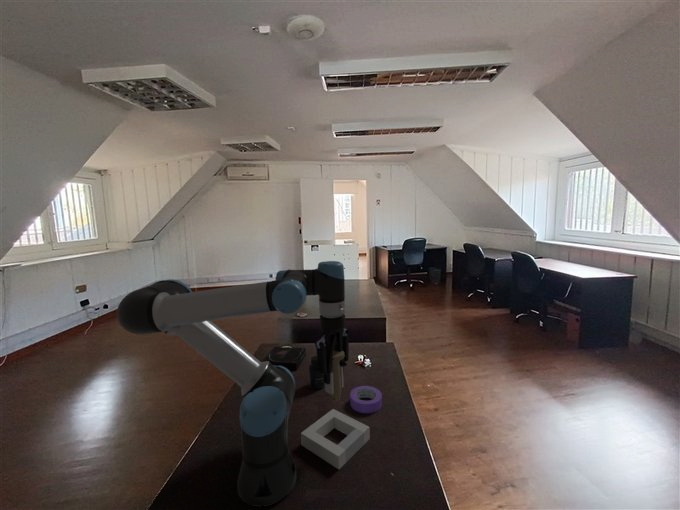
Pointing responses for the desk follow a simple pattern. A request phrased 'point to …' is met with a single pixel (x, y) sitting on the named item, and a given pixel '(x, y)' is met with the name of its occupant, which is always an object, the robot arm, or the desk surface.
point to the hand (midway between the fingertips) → (334, 389)
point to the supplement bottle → (315, 375)
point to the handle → (336, 375)
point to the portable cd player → (286, 357)
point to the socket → (326, 448)
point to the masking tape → (365, 405)
